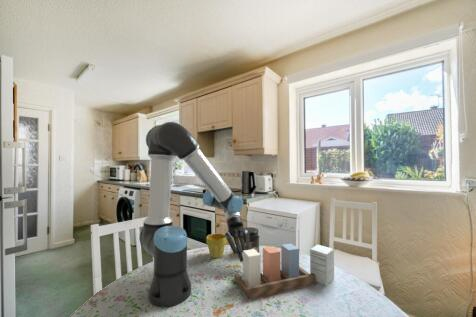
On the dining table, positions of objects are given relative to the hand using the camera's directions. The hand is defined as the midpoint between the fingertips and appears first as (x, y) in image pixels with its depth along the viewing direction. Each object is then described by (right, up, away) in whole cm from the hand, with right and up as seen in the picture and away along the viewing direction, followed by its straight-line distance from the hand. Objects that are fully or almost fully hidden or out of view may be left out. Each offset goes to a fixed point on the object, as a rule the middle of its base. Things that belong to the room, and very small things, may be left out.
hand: (246, 268), depth 93 cm
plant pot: (-15, -3, +20) cm, 25 cm away
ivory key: (+2, -3, -6) cm, 7 cm away
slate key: (+19, -3, 0) cm, 19 cm away
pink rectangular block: (+10, -3, -3) cm, 11 cm away
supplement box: (+31, -3, -3) cm, 32 cm away
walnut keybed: (+11, -3, -5) cm, 12 cm away
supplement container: (+3, -3, +24) cm, 24 cm away
